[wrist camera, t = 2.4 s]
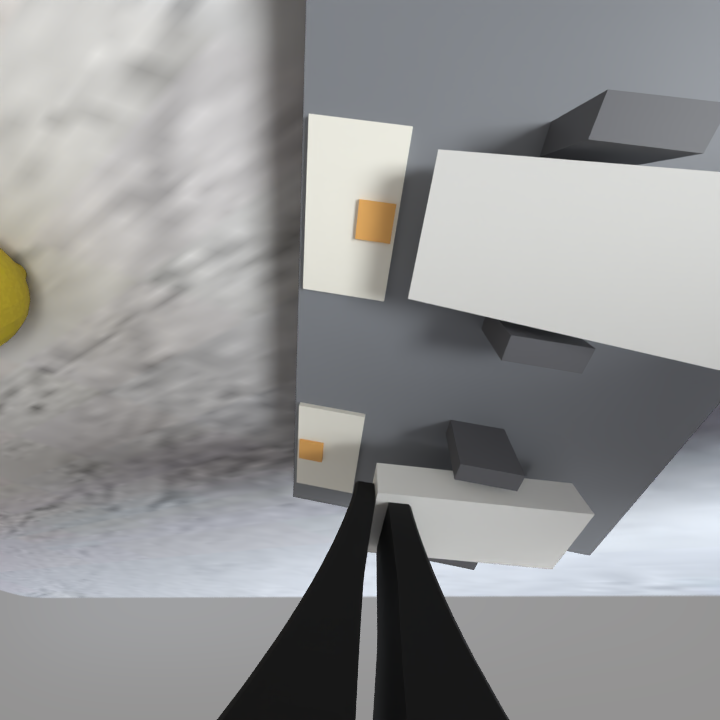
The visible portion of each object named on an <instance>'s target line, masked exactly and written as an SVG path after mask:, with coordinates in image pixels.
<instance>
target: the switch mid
mask: <svg viewBox="0 0 720 720" xmlns="http://www.w3.org/2000/svg"><path fill="white" fill-rule="evenodd" d="M408 299H411V300H416V301H420V302H424V303H429V304H433V305H438V306H442V307H446V308H451V309H455V310H459V311H464V312H468V313H472V314H477V315H481V316H485V317H490V318H494V319H498V320H503V321H507V322H511V323H516V324H520V325H525V326H529V327H533V328H538V329H542V330H546V331H551V332H555V333H559V334H564V335H568V336H572V337H577V338H581V339H585V340H590V341H594V342H599V343H603V344H607V345H612V346H616V347H620V348H625V349H629V350H633V351H638V352H642V353H646V354H651V355H655V356H659V357H664V358H668V359H673V360H677V361H681V362H686V363H690V364H694V365H699V366H703V367H707V368H712V369H716V370H720V172H714V171H701V170H689V169H677V168H664V167H652V166H639V165H627V164H615V163H602V162H590V161H577V160H565V159H553V158H540V157H528V156H515V155H503V154H491V153H478V152H466V151H453V150H441V149H438V153H437V158H436V163H435V168H434V173H433V178H432V183H431V188H430V193H429V198H428V203H427V208H426V212H425V217H424V222H423V227H422V232H421V237H420V242H419V247H418V252H417V257H416V262H415V267H414V271H413V276H412V281H411V286H410V291H409V296H408Z"/></svg>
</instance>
